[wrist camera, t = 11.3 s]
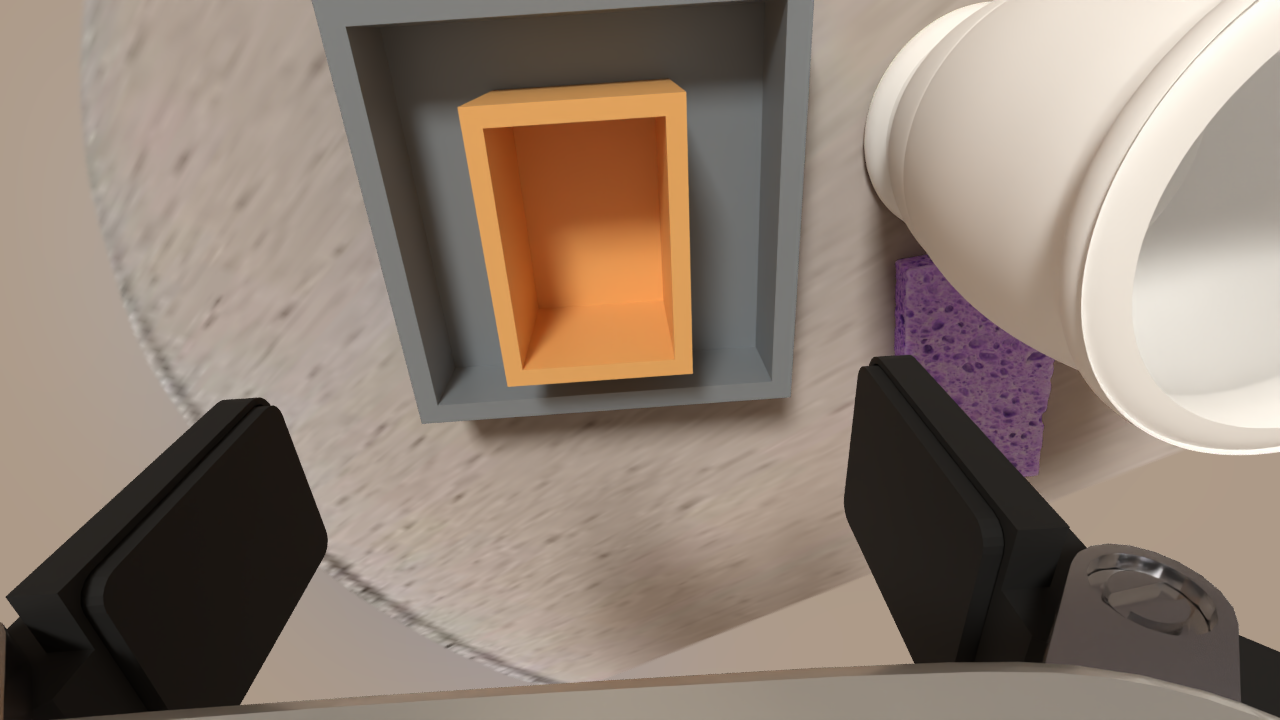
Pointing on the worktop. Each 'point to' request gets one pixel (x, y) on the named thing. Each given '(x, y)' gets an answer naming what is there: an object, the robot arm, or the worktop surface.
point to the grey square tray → (570, 55)
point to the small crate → (585, 228)
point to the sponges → (974, 361)
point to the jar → (1105, 195)
